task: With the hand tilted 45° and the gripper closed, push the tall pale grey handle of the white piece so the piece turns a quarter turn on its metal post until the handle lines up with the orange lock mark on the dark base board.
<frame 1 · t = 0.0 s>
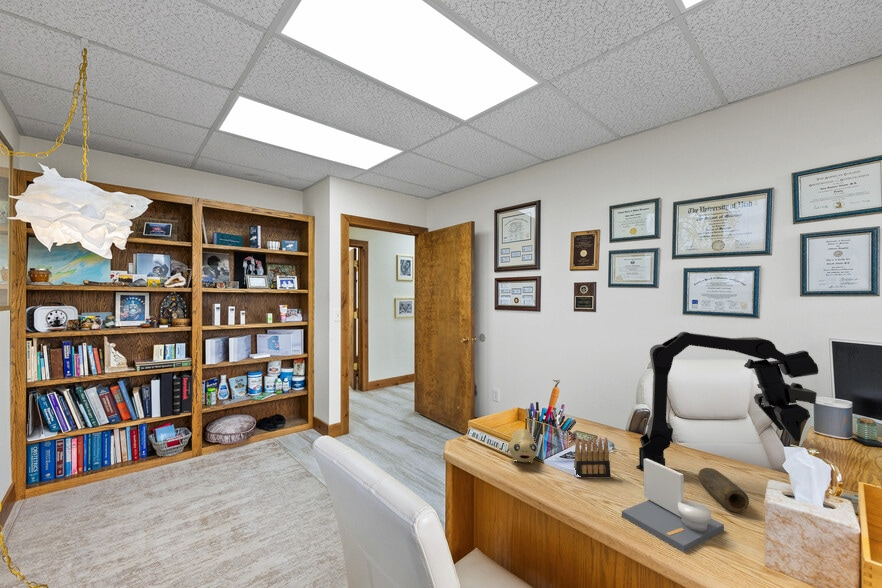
hand: (789, 435, 106), 15 cm above the table, tool pointing down, fingers open, 9 cm apart
white piece: (674, 491, 92), point 7 cm above the table, hinge at -90.0°
base board: (671, 523, 91), on the table
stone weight: (722, 500, 101), on the table
ammunition clip: (592, 477, 115), on the table
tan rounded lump: (523, 462, 125), on the table
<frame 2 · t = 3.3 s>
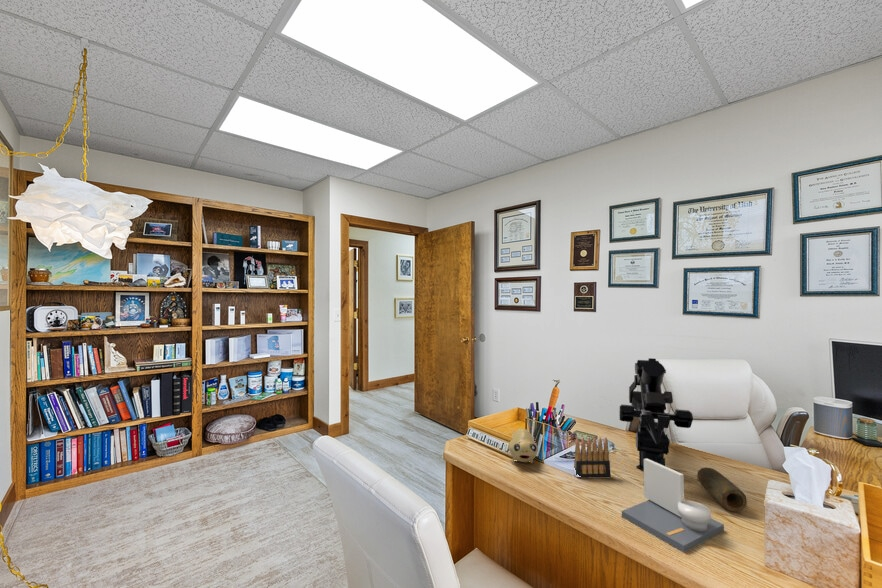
hand: (657, 443, 106), 14 cm above the table, tool tilted 45°, fingers closed
nothing on the table moved.
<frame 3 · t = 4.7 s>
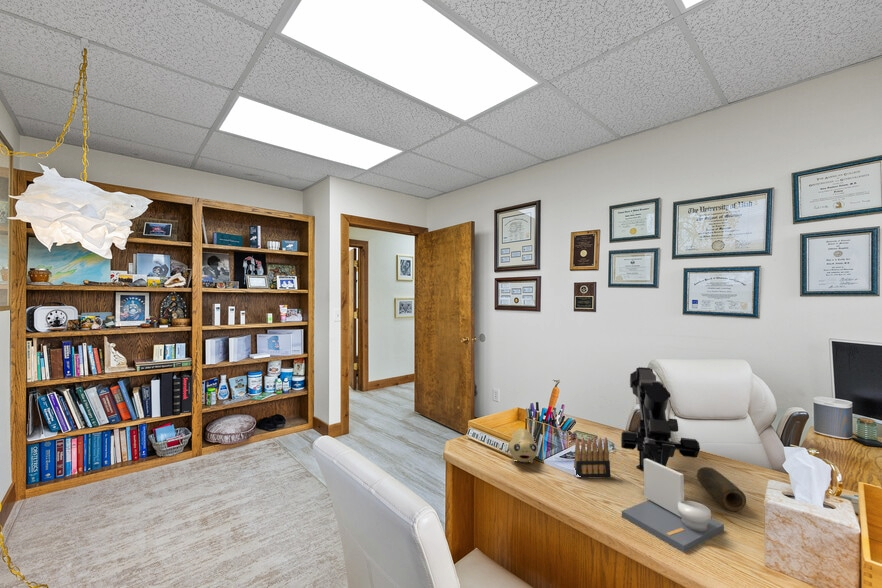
hand: (662, 474, 99), 8 cm above the table, tool tilted 45°, fingers closed
nothing on the table moved.
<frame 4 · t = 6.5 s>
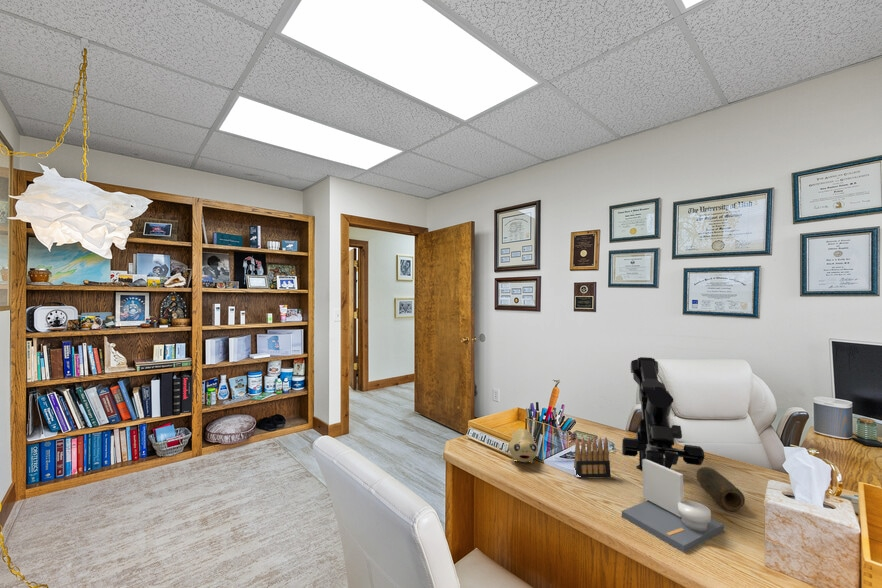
hand: (665, 483, 95), 7 cm above the table, tool tilted 45°, fingers closed
white piece: (673, 491, 92), point 7 cm above the table, hinge at -87.7°, touching gripper
everything else where it was.
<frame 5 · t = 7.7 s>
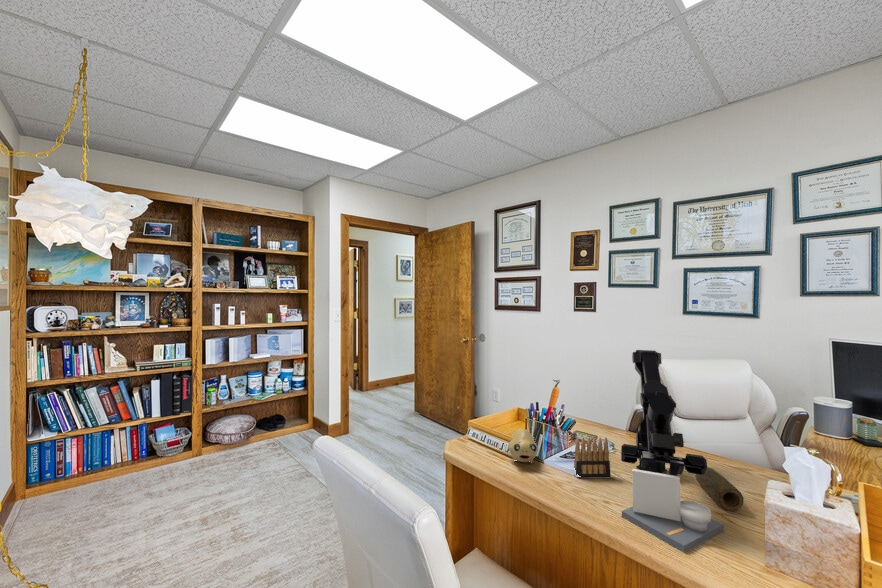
hand: (664, 493, 91), 7 cm above the table, tool tilted 45°, fingers closed, pressing on white piece
white piece: (670, 496, 90), point 7 cm above the table, hinge at -48.0°, touching gripper
everything else where it was.
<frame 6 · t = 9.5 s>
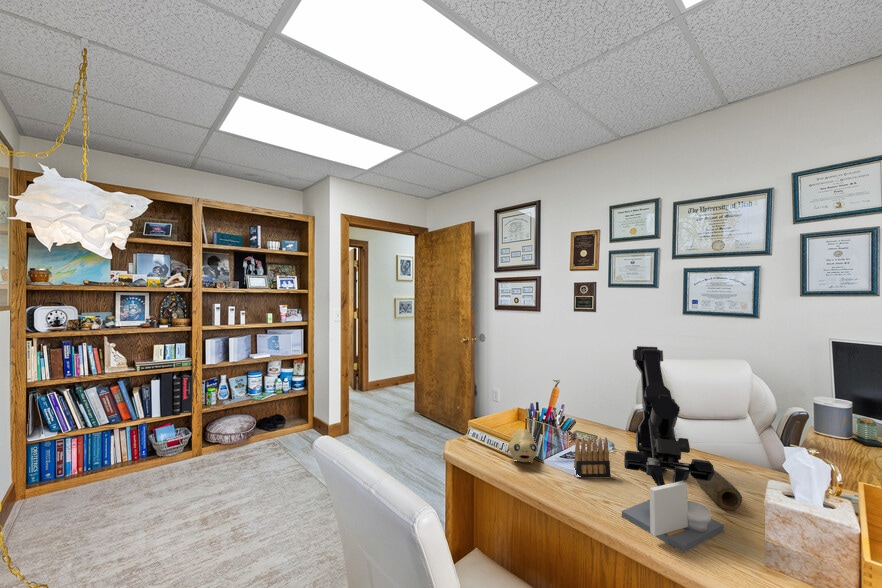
hand: (671, 502, 87), 7 cm above the table, tool tilted 45°, fingers closed
white piece: (678, 505, 86), point 7 cm above the table, hinge at -3.6°, touching gripper
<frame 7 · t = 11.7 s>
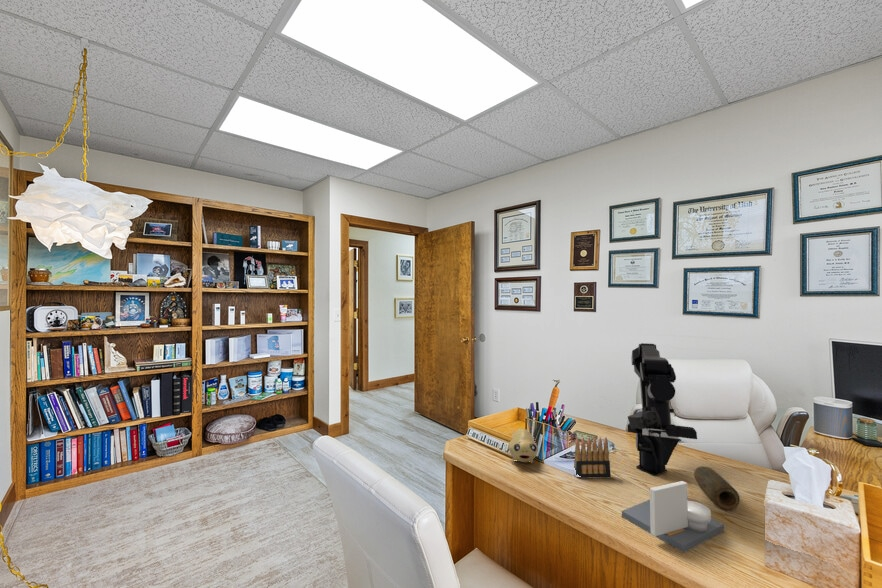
hand: (661, 464, 100), 10 cm above the table, tool tilted 20°, fingers closed
white piece: (678, 505, 86), point 7 cm above the table, hinge at -3.4°
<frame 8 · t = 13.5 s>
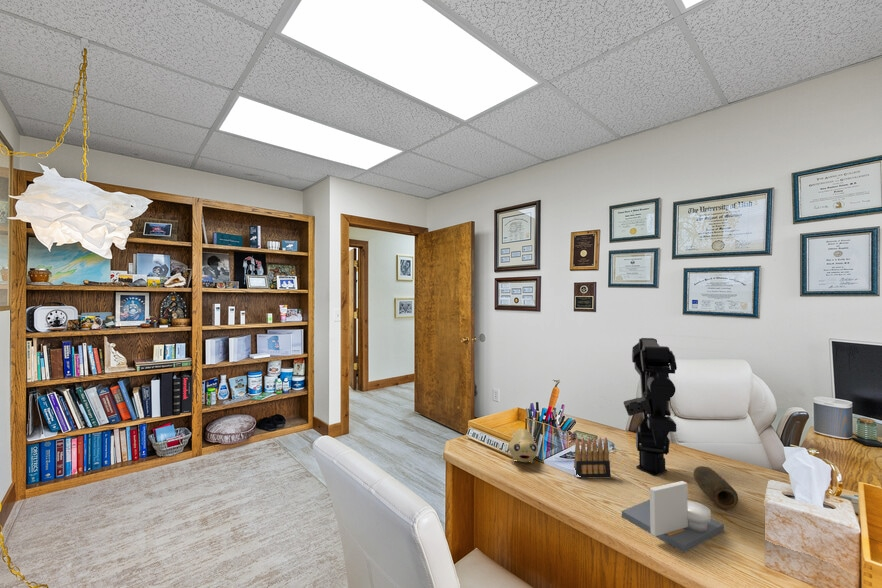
hand: (658, 446, 105), 13 cm above the table, tool pointing down, fingers closed
at the end: white piece at -3° (first picture: -90°) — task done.
